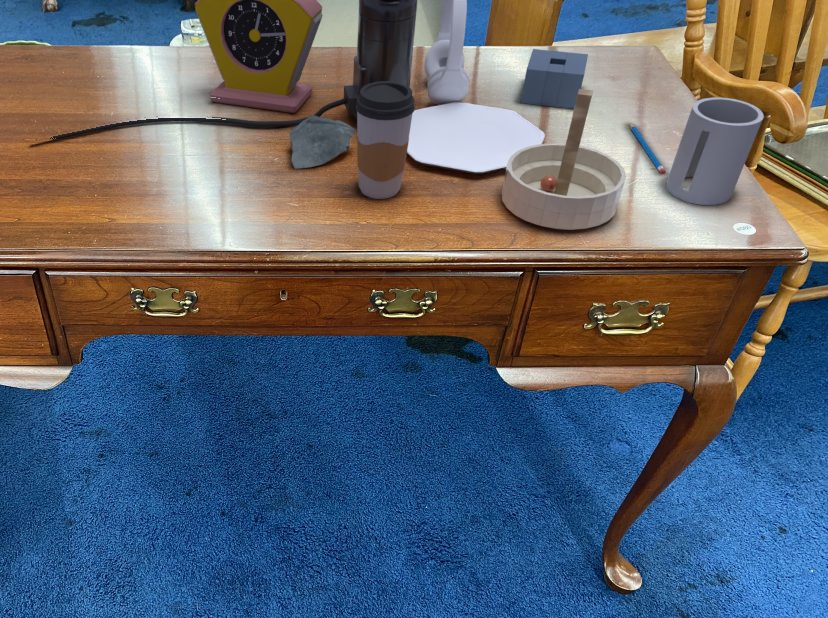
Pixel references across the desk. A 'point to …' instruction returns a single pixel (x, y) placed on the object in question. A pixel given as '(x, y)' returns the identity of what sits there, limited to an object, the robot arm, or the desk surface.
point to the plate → (469, 137)
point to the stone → (319, 141)
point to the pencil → (647, 149)
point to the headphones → (448, 56)
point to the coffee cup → (383, 136)
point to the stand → (553, 78)
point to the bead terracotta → (548, 183)
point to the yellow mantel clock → (260, 49)
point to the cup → (714, 150)
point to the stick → (573, 141)
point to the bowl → (587, 194)
